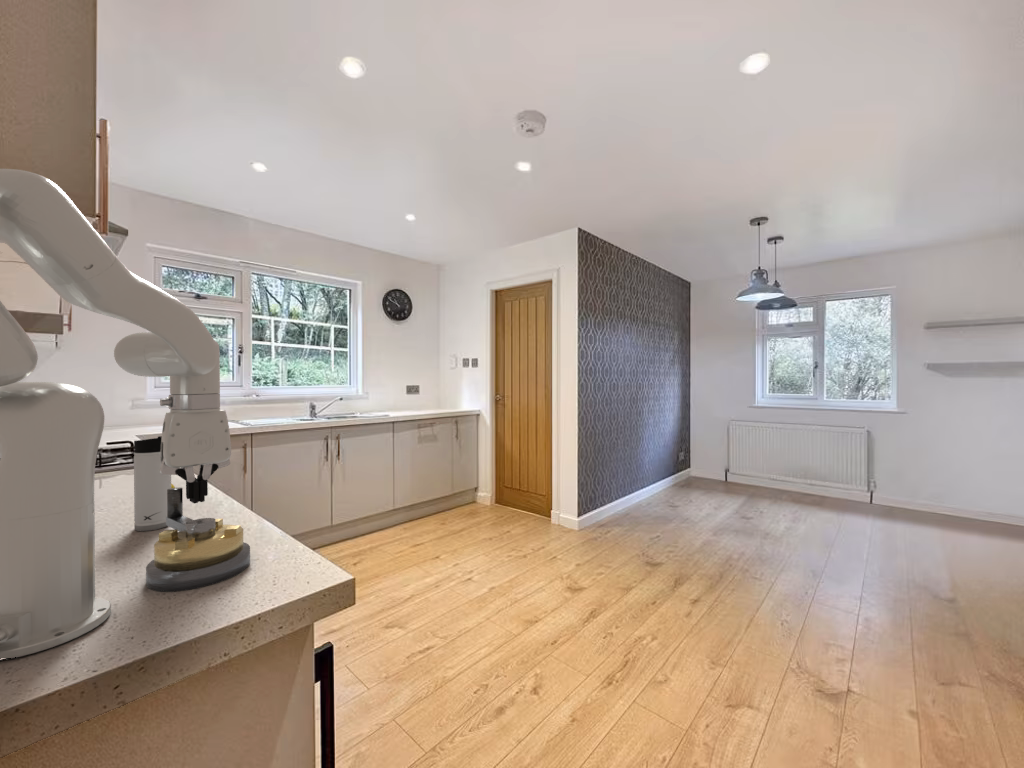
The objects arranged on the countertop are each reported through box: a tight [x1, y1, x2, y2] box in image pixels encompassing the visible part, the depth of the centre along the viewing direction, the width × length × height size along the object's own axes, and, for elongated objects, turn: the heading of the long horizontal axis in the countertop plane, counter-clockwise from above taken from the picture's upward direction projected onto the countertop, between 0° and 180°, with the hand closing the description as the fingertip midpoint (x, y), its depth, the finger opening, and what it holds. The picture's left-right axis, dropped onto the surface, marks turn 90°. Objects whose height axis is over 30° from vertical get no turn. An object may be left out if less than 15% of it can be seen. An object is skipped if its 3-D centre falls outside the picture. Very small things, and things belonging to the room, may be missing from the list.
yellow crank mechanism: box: [153, 486, 244, 570], centre depth 73 cm, size 18×12×10 cm, turn 56°
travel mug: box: [133, 435, 172, 532], centre depth 94 cm, size 6×7×20 cm
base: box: [145, 541, 251, 593], centre depth 71 cm, size 14×14×2 cm
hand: (197, 501), depth 80 cm, fingers closed
